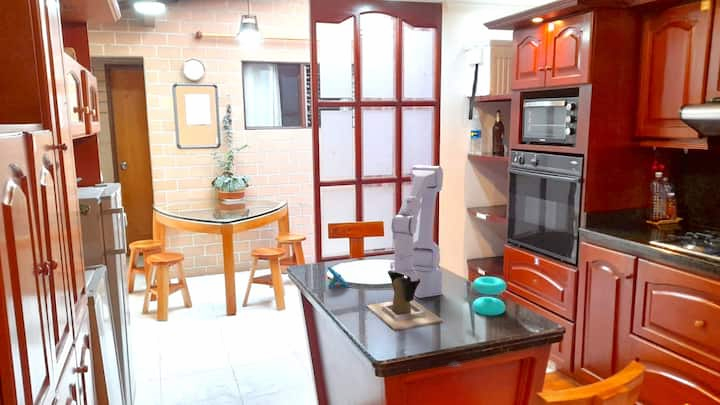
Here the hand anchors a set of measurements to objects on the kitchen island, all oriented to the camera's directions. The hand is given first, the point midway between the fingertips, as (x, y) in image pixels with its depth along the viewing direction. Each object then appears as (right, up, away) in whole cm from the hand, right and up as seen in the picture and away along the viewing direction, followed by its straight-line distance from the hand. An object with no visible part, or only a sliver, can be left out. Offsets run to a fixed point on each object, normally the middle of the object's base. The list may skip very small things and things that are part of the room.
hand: (403, 296), depth 160 cm
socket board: (0, -6, +1) cm, 6 cm away
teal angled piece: (-21, -1, +27) cm, 34 cm away
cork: (-1, -5, +1) cm, 5 cm away
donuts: (+27, -5, +3) cm, 28 cm away
